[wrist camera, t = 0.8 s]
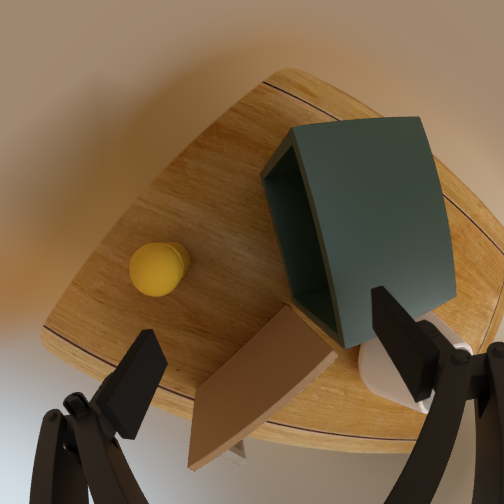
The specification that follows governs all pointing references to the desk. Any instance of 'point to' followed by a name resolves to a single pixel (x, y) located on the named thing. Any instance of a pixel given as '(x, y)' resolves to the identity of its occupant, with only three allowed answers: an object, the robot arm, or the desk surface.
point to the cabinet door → (254, 387)
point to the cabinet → (359, 221)
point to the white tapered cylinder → (386, 375)
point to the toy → (159, 267)
